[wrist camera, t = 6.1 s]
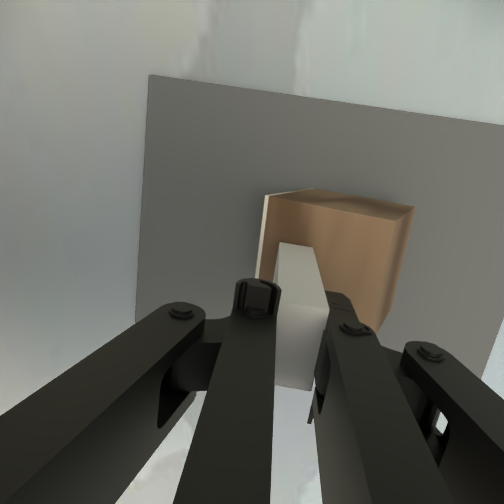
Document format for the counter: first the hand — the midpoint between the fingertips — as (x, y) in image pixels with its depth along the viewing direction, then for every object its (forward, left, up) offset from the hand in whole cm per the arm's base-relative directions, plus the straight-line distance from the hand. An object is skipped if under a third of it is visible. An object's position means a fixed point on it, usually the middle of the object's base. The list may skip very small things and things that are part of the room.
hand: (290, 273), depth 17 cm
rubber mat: (+2, 0, -7) cm, 8 cm away
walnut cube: (0, 0, -4) cm, 4 cm away
